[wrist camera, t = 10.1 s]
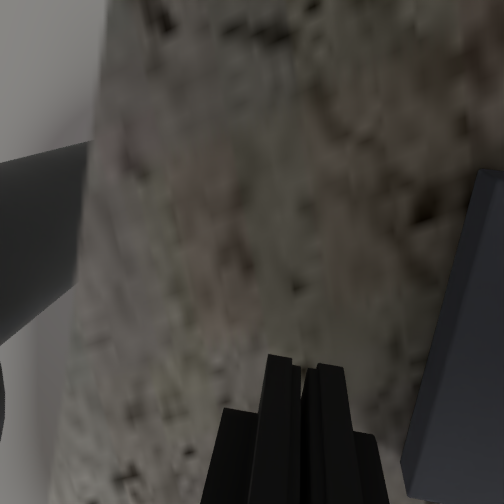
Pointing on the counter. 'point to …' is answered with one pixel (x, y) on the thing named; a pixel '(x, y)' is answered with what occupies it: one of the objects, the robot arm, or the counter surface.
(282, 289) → the counter surface
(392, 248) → the counter surface
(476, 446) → the charcoal pad
